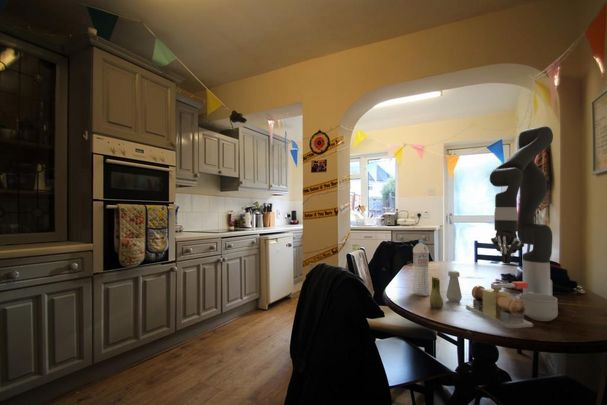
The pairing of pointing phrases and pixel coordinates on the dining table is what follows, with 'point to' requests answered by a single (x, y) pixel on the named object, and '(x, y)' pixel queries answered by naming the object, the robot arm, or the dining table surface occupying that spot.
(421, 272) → the water bottle
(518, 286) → the valve lever
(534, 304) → the teacup
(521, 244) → the robot arm
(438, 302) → the fennel bulb
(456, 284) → the salt shaker
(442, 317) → the dining table surface
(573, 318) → the dining table surface
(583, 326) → the dining table surface
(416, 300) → the dining table surface
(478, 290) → the pipe run
